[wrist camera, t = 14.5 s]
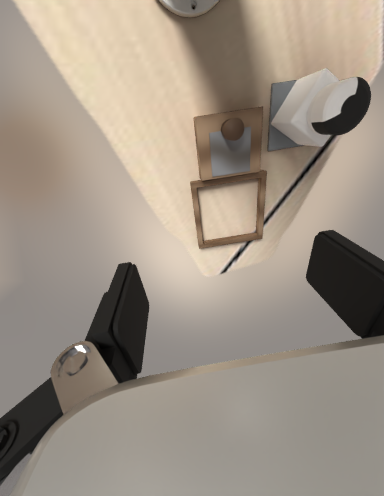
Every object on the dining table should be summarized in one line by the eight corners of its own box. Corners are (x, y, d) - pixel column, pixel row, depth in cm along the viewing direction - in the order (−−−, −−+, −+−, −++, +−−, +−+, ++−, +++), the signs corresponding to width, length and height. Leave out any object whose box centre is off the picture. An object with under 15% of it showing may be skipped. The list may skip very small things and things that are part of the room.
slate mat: (271, 84, 32) (273, 83, 32) (330, 75, 33) (332, 74, 32) (267, 150, 38) (268, 150, 37) (318, 142, 38) (319, 142, 37)
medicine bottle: (326, 104, 34) (392, 92, 24) (297, 145, 37) (346, 150, 27) (297, 78, 32) (356, 53, 22) (269, 124, 35) (310, 121, 25)
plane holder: (182, 119, 34) (184, 117, 29) (267, 106, 34) (284, 102, 29) (198, 245, 47) (201, 259, 42) (259, 235, 47) (270, 248, 42)
